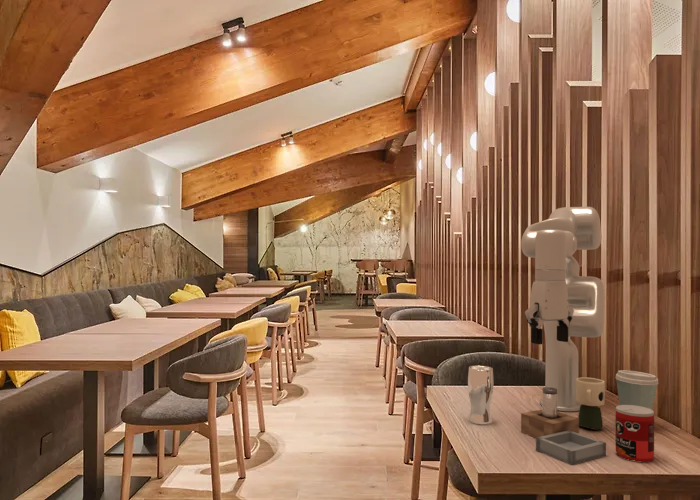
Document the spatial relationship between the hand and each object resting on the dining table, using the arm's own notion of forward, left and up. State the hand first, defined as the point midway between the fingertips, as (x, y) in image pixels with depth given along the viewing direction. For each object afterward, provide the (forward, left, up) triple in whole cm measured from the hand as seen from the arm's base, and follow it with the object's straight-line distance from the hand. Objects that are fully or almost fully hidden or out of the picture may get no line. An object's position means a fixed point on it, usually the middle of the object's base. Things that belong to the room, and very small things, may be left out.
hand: (549, 342), depth 136 cm
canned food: (-6, +19, -24) cm, 32 cm away
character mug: (-15, +1, -24) cm, 29 cm away
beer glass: (+8, -17, -24) cm, 31 cm away
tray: (+6, +11, -24) cm, 27 cm away
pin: (0, 0, -24) cm, 24 cm away
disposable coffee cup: (-28, +6, -24) cm, 38 cm away
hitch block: (0, 0, -24) cm, 24 cm away
